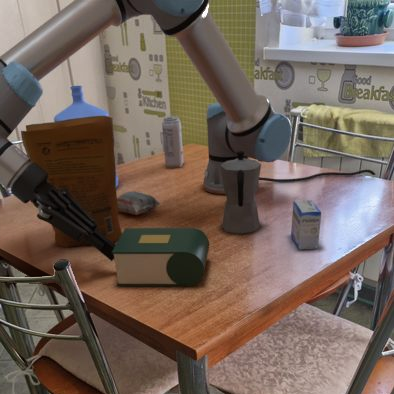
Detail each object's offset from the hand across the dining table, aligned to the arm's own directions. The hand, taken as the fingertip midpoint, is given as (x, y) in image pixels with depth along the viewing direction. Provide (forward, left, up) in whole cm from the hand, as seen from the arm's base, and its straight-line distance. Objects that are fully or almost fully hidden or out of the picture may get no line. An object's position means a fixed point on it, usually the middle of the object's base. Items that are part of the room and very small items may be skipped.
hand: (116, 255), depth 108 cm
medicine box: (-42, -4, -4) cm, 43 cm away
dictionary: (-10, +3, -4) cm, 11 cm away
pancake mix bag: (+6, -18, -4) cm, 20 cm away
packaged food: (-5, -35, -4) cm, 36 cm away
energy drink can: (-21, -75, -4) cm, 78 cm away
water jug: (+6, -60, -4) cm, 60 cm away
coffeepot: (-30, -16, -4) cm, 35 cm away
